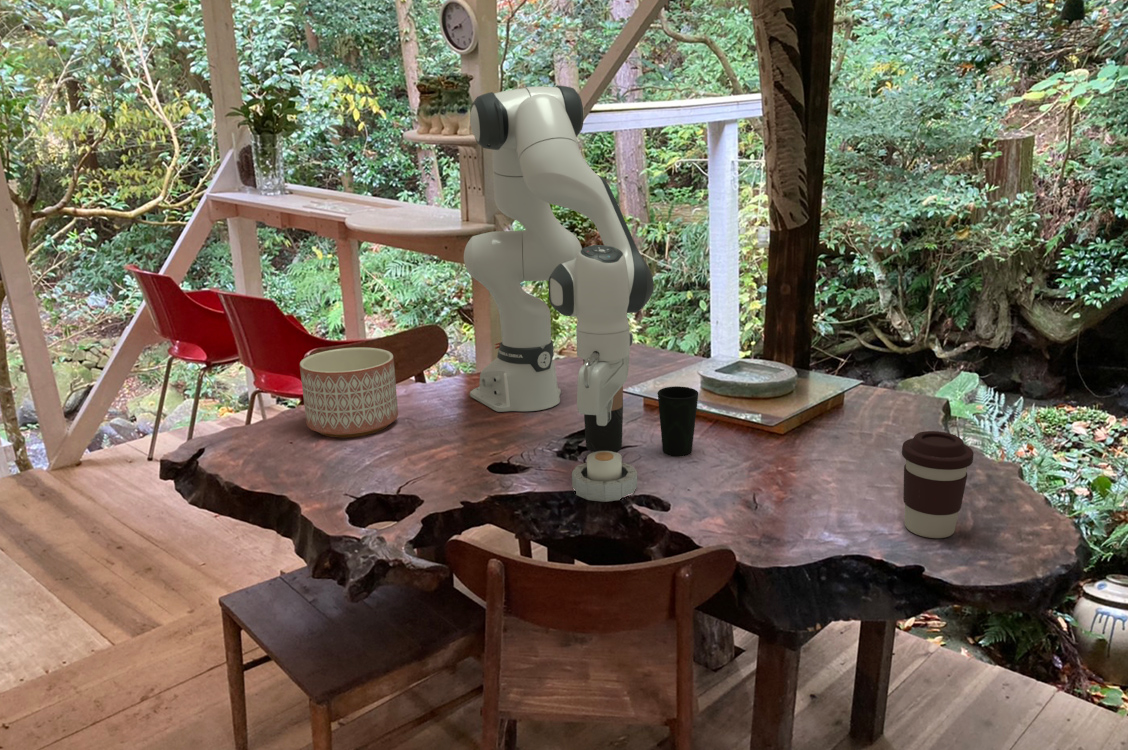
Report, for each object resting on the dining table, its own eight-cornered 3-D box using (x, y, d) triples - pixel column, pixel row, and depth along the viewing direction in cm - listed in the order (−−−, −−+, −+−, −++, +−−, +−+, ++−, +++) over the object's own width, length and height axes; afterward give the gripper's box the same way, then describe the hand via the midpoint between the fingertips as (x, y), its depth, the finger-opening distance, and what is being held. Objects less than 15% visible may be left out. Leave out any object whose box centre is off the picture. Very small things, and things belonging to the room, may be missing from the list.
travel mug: (602, 437, 178) (601, 341, 172) (631, 446, 172) (631, 348, 167) (576, 447, 172) (574, 349, 167) (604, 457, 167) (603, 356, 161)
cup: (695, 460, 165) (697, 399, 161) (655, 457, 166) (655, 397, 163) (698, 445, 172) (699, 387, 168) (659, 443, 173) (659, 385, 170)
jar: (581, 487, 152) (580, 458, 151) (596, 474, 157) (596, 447, 156) (612, 493, 149) (612, 464, 148) (627, 480, 154) (627, 452, 153)
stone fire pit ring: (560, 488, 154) (559, 472, 153) (604, 470, 161) (604, 455, 160) (604, 507, 146) (604, 490, 145) (649, 487, 153) (649, 471, 152)
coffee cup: (893, 511, 142) (901, 424, 137) (959, 518, 139) (970, 429, 135) (897, 539, 133) (905, 447, 128) (968, 547, 130) (979, 453, 126)
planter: (369, 445, 177) (362, 374, 172) (288, 436, 183) (280, 368, 178) (414, 414, 194) (409, 350, 190) (339, 407, 200) (333, 345, 196)
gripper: (604, 362, 136) (605, 446, 140) (635, 331, 154) (635, 406, 158) (566, 360, 137) (568, 442, 141) (600, 330, 156) (601, 403, 160)
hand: (603, 423), depth 150 cm, fingers closed
